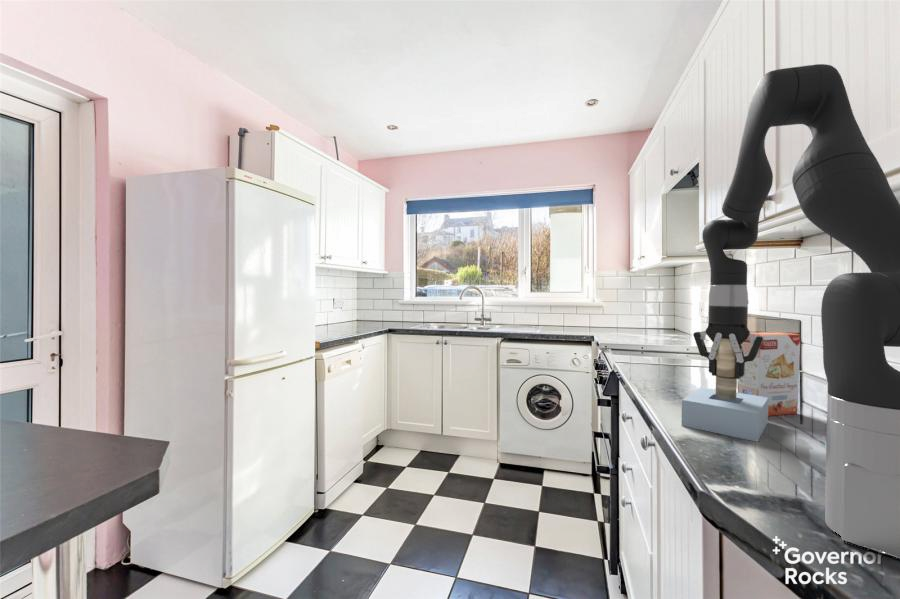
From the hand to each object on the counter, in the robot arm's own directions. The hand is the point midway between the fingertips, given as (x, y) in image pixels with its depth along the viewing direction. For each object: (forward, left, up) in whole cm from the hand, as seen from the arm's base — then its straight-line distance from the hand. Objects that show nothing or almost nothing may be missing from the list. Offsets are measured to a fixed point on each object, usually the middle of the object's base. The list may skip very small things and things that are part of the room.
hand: (726, 376), depth 92 cm
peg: (0, 0, -5) cm, 5 cm away
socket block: (0, 0, -11) cm, 11 cm away
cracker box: (+19, -6, -11) cm, 23 cm away
